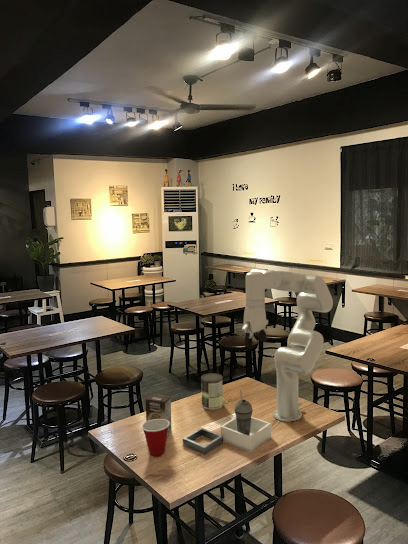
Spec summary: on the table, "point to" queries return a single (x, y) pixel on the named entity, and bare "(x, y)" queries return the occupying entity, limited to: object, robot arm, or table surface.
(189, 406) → the table surface
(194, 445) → the holder
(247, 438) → the bin
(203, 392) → the coffee can
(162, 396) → the coffee box
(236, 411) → the beverage cup
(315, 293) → the robot arm
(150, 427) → the plastic cup
